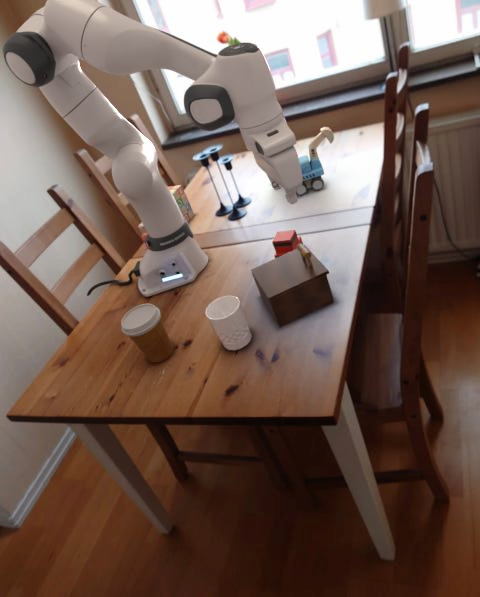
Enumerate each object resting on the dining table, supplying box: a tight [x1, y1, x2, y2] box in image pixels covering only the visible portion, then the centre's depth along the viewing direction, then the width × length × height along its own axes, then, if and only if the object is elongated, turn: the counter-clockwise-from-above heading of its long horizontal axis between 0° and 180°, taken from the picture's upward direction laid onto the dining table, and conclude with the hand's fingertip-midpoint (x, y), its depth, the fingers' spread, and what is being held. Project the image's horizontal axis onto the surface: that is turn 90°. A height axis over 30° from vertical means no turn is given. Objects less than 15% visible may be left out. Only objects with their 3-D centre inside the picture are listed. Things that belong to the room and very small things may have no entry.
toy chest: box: [251, 273, 335, 328], centre depth 109 cm, size 14×14×8 cm
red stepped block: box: [271, 229, 304, 259], centre depth 123 cm, size 8×5×8 cm, turn 157°
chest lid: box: [250, 243, 330, 301], centre depth 106 cm, size 14×14×4 cm
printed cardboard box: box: [137, 184, 196, 235], centre depth 161 cm, size 21×6×12 cm, turn 152°
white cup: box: [205, 295, 253, 351], centre depth 104 cm, size 8×8×10 cm
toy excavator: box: [296, 126, 335, 196], centre depth 150 cm, size 9×17×17 cm, turn 89°
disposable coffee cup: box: [120, 302, 174, 363], centre depth 110 cm, size 10×10×12 cm
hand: (285, 195), depth 100 cm, fingers open, 8 cm apart
